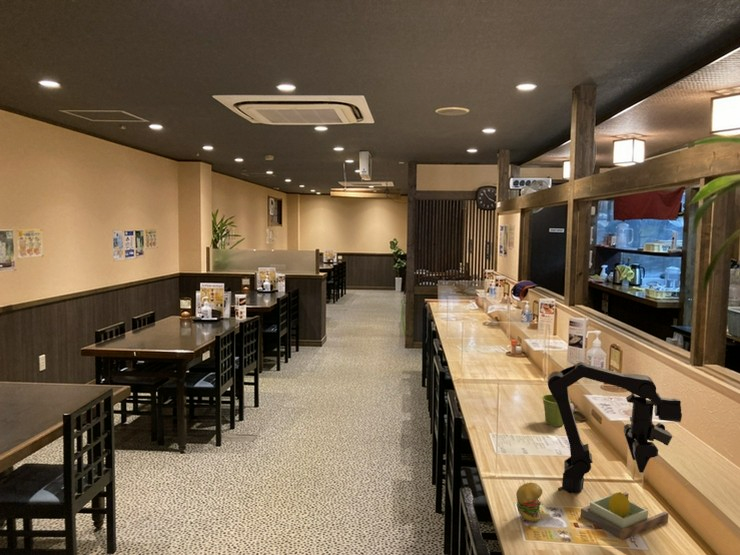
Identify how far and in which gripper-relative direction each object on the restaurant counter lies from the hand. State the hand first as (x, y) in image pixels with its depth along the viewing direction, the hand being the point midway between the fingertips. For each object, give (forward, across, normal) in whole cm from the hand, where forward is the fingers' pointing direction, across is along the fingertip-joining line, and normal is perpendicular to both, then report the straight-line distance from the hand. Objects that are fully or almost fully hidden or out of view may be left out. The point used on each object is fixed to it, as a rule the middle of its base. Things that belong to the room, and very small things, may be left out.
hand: (637, 466), depth 174 cm
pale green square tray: (+11, -15, +8) cm, 20 cm away
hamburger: (+12, -20, +33) cm, 40 cm away
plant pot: (+12, +64, +20) cm, 68 cm away
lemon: (+10, -15, +8) cm, 20 cm away
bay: (+12, -13, +6) cm, 19 cm away
